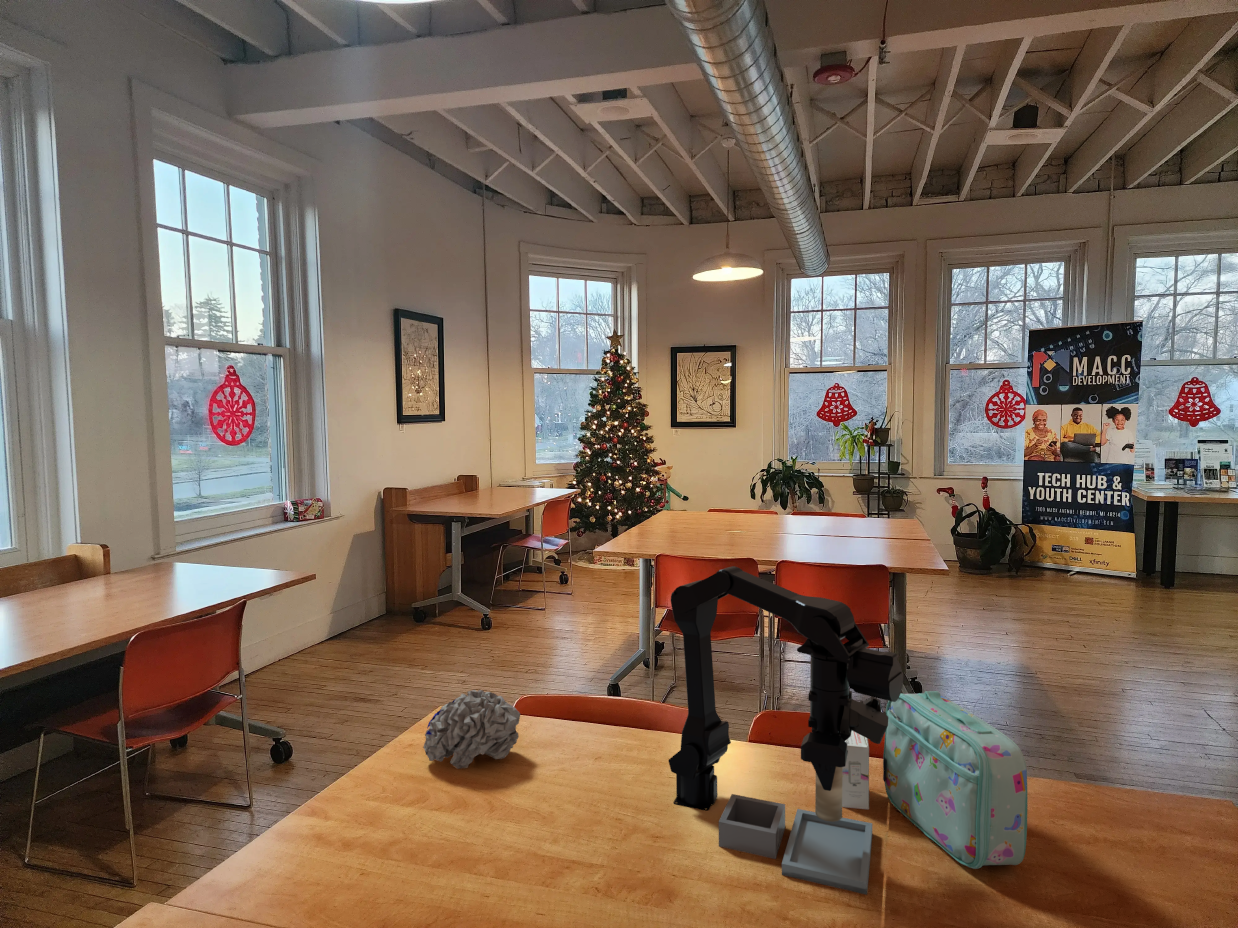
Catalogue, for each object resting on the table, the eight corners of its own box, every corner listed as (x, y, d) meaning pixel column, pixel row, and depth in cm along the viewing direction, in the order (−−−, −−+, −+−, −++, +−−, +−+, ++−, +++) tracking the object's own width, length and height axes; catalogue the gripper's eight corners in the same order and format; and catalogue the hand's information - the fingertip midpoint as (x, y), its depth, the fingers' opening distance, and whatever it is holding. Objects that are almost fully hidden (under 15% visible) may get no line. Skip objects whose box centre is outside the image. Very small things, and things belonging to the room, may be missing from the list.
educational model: (452, 771, 149) (419, 709, 149) (535, 727, 150) (502, 666, 149) (438, 804, 135) (402, 736, 135) (529, 755, 136) (493, 687, 135)
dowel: (813, 818, 107) (814, 754, 107) (816, 804, 111) (817, 743, 110) (840, 823, 106) (841, 759, 105) (843, 810, 109) (843, 748, 109)
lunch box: (871, 793, 127) (871, 678, 126) (921, 786, 129) (922, 673, 128) (974, 887, 101) (976, 743, 100) (1035, 877, 103) (1037, 736, 102)
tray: (781, 877, 104) (781, 863, 104) (797, 821, 118) (797, 808, 118) (867, 897, 99) (867, 882, 99) (872, 836, 114) (872, 823, 114)
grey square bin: (718, 848, 111) (718, 821, 111) (731, 819, 119) (731, 793, 119) (775, 861, 107) (775, 833, 107) (785, 830, 116) (785, 804, 115)
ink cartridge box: (834, 785, 130) (835, 708, 129) (862, 787, 129) (863, 709, 128) (840, 809, 122) (840, 727, 121) (869, 812, 121) (870, 729, 120)
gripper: (883, 716, 96) (882, 826, 96) (887, 671, 113) (886, 765, 114) (800, 704, 100) (799, 809, 101) (816, 663, 117) (815, 753, 118)
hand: (828, 783), depth 108 cm, fingers closed on dowel, 4 cm apart
